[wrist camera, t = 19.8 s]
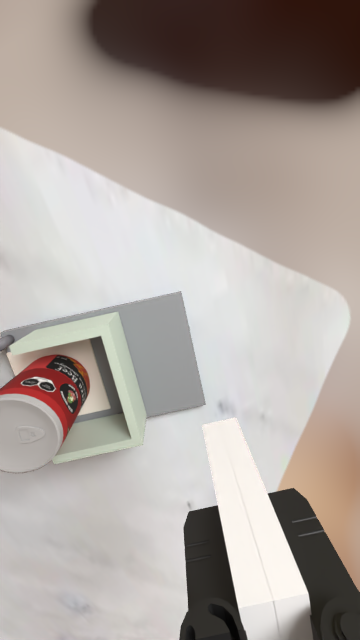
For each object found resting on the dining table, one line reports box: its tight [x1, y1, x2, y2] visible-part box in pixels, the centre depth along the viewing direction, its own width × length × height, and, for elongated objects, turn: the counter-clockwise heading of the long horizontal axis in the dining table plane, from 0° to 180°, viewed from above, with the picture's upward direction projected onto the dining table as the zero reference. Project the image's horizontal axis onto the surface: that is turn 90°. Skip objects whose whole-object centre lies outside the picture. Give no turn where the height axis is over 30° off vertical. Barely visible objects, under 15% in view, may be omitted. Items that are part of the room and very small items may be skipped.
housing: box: [9, 312, 147, 464], centre depth 33 cm, size 10×14×6 cm
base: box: [0, 291, 206, 424], centre depth 36 cm, size 22×15×4 cm
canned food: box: [0, 355, 90, 473], centre depth 31 cm, size 8×8×11 cm
